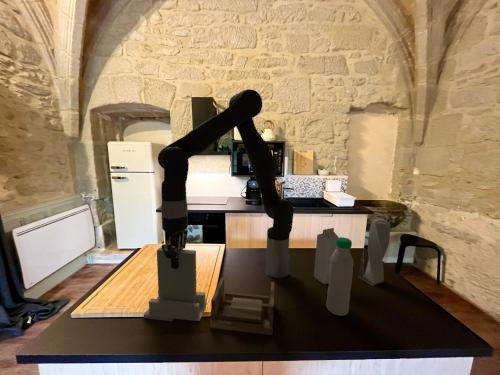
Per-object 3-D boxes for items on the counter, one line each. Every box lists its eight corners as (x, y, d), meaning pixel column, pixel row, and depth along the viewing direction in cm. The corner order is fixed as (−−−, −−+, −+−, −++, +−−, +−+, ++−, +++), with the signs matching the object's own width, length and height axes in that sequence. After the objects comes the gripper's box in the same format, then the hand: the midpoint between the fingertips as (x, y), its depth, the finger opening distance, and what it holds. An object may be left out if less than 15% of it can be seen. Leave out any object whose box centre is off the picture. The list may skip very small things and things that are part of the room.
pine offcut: (233, 306, 69) (233, 297, 68) (261, 309, 68) (262, 300, 67) (230, 316, 64) (230, 307, 64) (260, 319, 63) (261, 310, 63)
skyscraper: (370, 272, 97) (377, 211, 92) (388, 282, 90) (397, 216, 85) (357, 277, 94) (364, 213, 89) (375, 287, 86) (383, 219, 82)
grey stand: (160, 297, 78) (159, 285, 77) (209, 302, 76) (209, 289, 75) (143, 318, 68) (142, 304, 68) (199, 324, 66) (199, 310, 66)
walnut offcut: (225, 313, 69) (225, 305, 69) (263, 317, 68) (263, 309, 67) (221, 324, 65) (221, 315, 65) (262, 329, 64) (262, 320, 63)
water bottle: (347, 305, 76) (354, 236, 72) (349, 319, 70) (357, 245, 66) (326, 300, 79) (331, 233, 74) (326, 313, 72) (332, 241, 68)
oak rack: (222, 299, 78) (222, 275, 76) (273, 304, 76) (274, 280, 74) (210, 331, 64) (210, 302, 62) (272, 338, 62) (273, 309, 60)
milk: (313, 277, 93) (317, 227, 89) (324, 273, 96) (328, 225, 92) (324, 284, 88) (328, 232, 84) (335, 281, 90) (339, 230, 87)
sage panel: (162, 297, 74) (160, 247, 71) (196, 301, 72) (195, 250, 69) (158, 301, 72) (156, 250, 69) (194, 306, 70) (193, 253, 67)
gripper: (173, 207, 74) (175, 255, 77) (150, 219, 61) (153, 277, 63) (195, 208, 73) (196, 256, 76) (176, 221, 60) (178, 279, 63)
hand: (176, 265), depth 70 cm, fingers closed on sage panel, 2 cm apart
